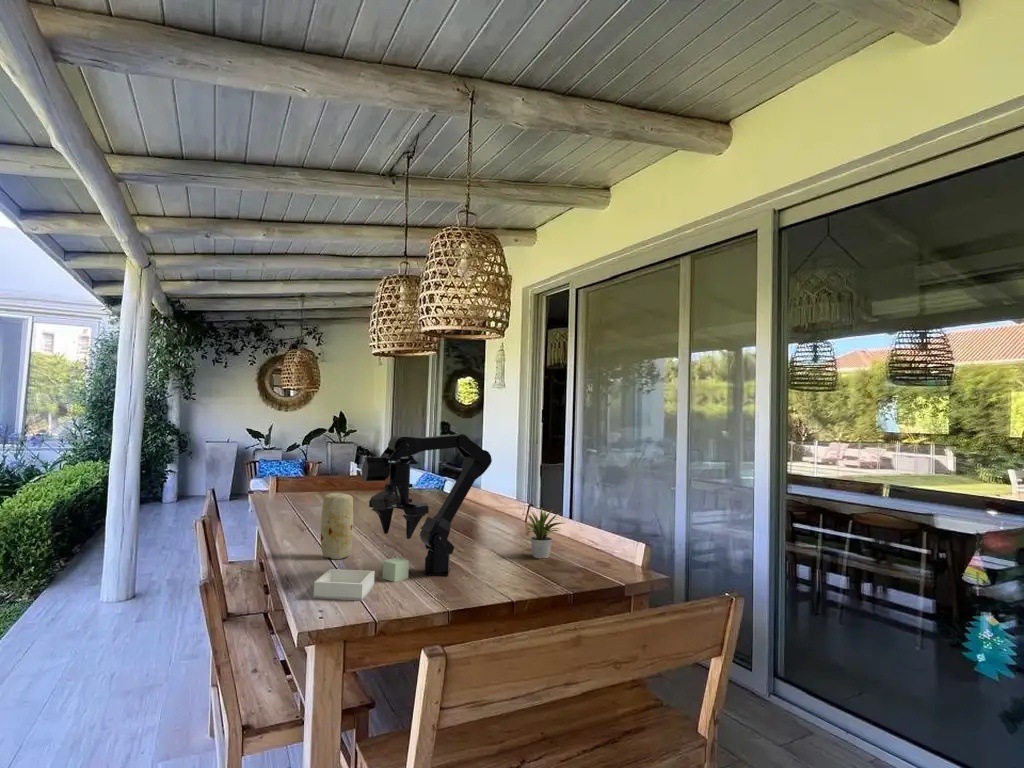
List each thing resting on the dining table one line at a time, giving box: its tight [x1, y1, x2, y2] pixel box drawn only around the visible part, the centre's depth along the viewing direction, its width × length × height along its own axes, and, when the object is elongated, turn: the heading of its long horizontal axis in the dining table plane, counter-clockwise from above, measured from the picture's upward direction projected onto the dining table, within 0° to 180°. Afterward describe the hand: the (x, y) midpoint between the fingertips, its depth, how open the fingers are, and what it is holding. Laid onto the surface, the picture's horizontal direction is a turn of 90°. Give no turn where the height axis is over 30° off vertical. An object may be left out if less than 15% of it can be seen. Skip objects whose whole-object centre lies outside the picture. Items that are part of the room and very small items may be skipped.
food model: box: [320, 492, 354, 560], centre depth 187 cm, size 10×7×20 cm
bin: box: [313, 568, 376, 602], centre depth 154 cm, size 12×12×4 cm
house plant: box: [522, 507, 565, 559], centre depth 196 cm, size 14×14×16 cm
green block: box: [381, 557, 410, 583], centre depth 167 cm, size 5×5×5 cm
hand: (397, 536), depth 168 cm, fingers open, 9 cm apart
